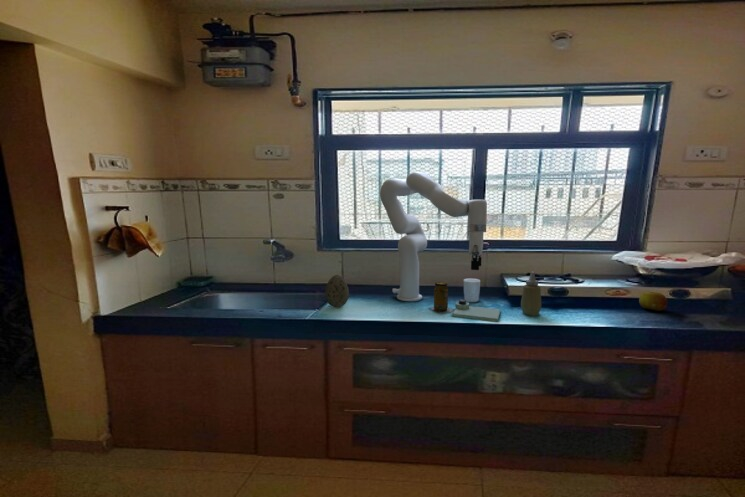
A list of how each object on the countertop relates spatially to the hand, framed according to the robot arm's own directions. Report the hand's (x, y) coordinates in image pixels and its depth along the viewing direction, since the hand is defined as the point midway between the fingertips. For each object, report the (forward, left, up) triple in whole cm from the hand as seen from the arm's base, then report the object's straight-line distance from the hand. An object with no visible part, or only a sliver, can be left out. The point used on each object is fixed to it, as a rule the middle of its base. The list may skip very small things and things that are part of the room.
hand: (476, 267), depth 152 cm
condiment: (-14, -6, -19) cm, 24 cm away
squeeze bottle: (+22, +2, -19) cm, 29 cm away
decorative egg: (-59, -19, -19) cm, 65 cm away
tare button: (-5, -3, -16) cm, 17 cm away
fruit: (+70, +26, -19) cm, 78 cm away
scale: (+1, -6, -19) cm, 20 cm away
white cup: (-4, +14, -19) cm, 24 cm away
